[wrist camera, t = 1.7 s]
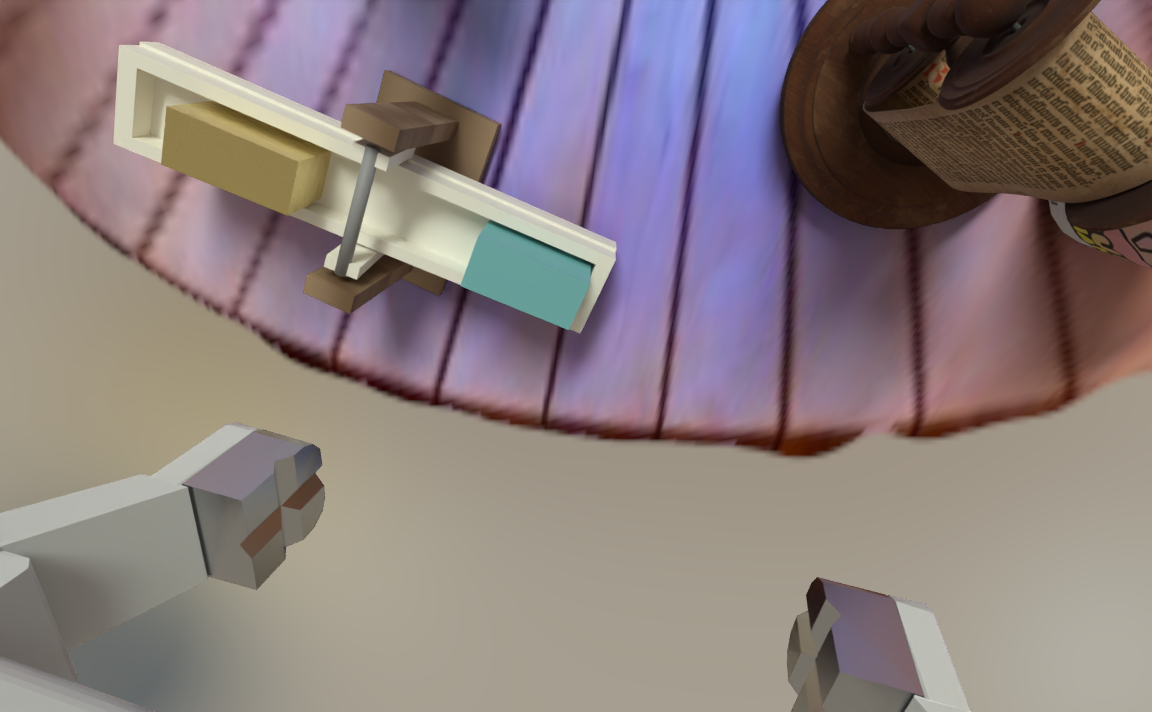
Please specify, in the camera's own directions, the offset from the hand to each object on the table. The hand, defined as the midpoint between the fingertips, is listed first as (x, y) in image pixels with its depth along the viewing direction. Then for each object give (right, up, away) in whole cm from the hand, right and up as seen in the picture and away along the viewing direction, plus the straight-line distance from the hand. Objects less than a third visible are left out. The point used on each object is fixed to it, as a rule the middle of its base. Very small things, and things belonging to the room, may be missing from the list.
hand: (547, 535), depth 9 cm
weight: (-18, +15, +27) cm, 36 cm away
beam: (-12, +14, +29) cm, 34 cm away
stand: (-11, +15, +32) cm, 37 cm away
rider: (-2, +9, +29) cm, 31 cm away
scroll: (+20, +18, +26) cm, 37 cm away
